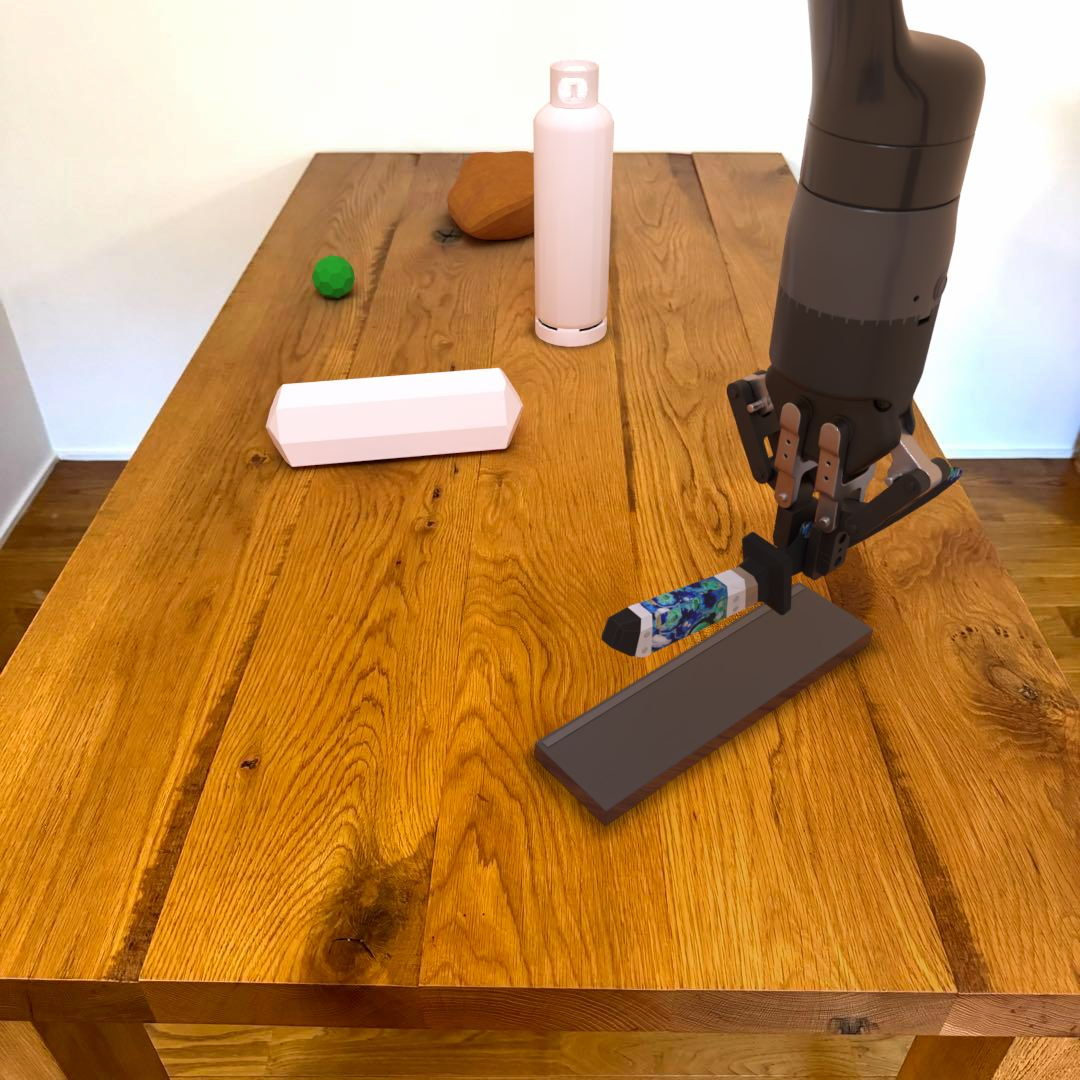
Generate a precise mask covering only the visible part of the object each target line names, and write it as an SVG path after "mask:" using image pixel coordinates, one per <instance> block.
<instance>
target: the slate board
mask: <svg viewBox="0 0 1080 1080" xmlns="http://www.w3.org/2000/svg"><path fill="white" fill-rule="evenodd" d="M873 633H874V628H873V627H871V626H869V624H867V623H865V622H863V621H862V620H860V619H859V618H857V617H855V616H854V615H852V614H851V613H849V612H847V611H846V610H845V609H843V608H842V607H840V606H838V605H836V604H835V603H834V602H832V601H831V600H829V599H828V598H826V597H824V596H823V595H821V594H819V593H818V592H817V591H815V590H813V589H811V588H810V587H809V586H807V585H805V584H803V583H802V582H800V581H797V582H796V583H794V584H792V593H791V609H790V610H789V611H788V612H787V613H786V614H785V615H780V614H778V613H777V612H776V611H774V610H773V609H771V608H770V607H769V606H767V605H766V604H765V603H763V602H762V604H760V605H758V606H757V607H755V608H754V609H752V610H750V611H748V612H746V613H745V614H743V615H741V616H740V617H738V618H737V619H735V620H734V621H732V622H730V623H729V624H727V625H726V626H724V627H722V628H720V629H719V630H717V631H715V632H713V634H710V635H709V636H708V637H705V638H704V639H702V640H701V641H699V642H698V643H696V644H694V645H692V646H691V647H689V648H688V649H686V650H684V651H683V652H681V653H679V654H678V655H676V656H675V657H673V658H671V659H669V660H668V661H666V662H665V663H662V665H660V666H658V667H656V668H654V669H653V670H652V671H650V672H648V673H646V674H645V675H643V676H641V677H640V678H639V679H637V680H635V681H634V682H631V683H630V684H629V685H627V686H625V687H624V688H622V689H620V690H619V691H617V692H616V693H614V694H612V695H611V696H609V697H607V698H605V699H604V700H602V701H601V702H599V703H598V704H596V705H594V706H592V707H591V708H589V709H588V710H586V711H584V712H582V713H581V714H579V715H577V716H576V717H574V718H573V719H571V720H569V721H568V722H566V723H565V724H563V725H561V726H560V727H558V728H556V729H555V730H553V731H552V732H550V733H548V734H547V735H545V736H543V737H541V738H540V739H539V740H536V741H535V742H534V758H535V759H536V761H538V763H540V764H541V766H543V767H544V768H545V769H546V770H547V771H548V772H549V773H550V775H552V776H553V777H554V778H555V779H556V781H558V782H559V783H560V784H561V785H562V786H563V787H564V788H565V789H566V790H567V791H568V792H569V793H571V794H572V796H574V797H575V798H576V800H577V801H579V802H580V803H581V804H582V805H583V807H585V808H586V809H587V811H589V812H590V813H591V814H592V815H593V816H594V817H595V818H596V819H597V820H598V821H599V822H600V823H601V824H602V825H603V826H605V827H606V826H608V825H609V824H611V823H612V822H614V821H615V820H616V819H618V818H619V817H621V816H623V815H624V814H625V813H626V812H628V811H630V810H632V808H634V807H636V806H637V805H638V804H640V803H641V802H643V801H644V800H646V799H647V798H648V797H650V796H651V795H653V794H654V793H656V792H657V791H659V790H660V789H661V788H663V787H665V786H666V785H667V784H669V783H670V782H672V781H673V780H675V779H676V778H677V777H679V776H680V775H682V774H683V773H685V772H686V771H688V770H689V769H691V768H692V767H693V766H694V765H696V764H697V763H699V762H701V761H702V760H704V758H706V757H708V756H710V754H713V752H715V751H717V750H718V749H719V748H721V747H722V746H724V745H725V744H727V743H728V742H730V741H731V740H733V739H734V738H735V737H737V736H738V735H740V734H742V732H745V730H748V728H750V727H751V726H753V725H754V724H756V723H757V722H759V721H760V720H762V719H763V718H765V717H766V716H768V715H769V714H770V713H772V712H773V711H775V710H776V709H778V708H779V707H780V706H782V705H784V704H785V703H786V702H788V701H789V700H790V699H792V698H793V697H795V696H796V695H798V694H799V693H801V692H802V691H804V690H805V689H806V688H808V687H810V686H811V685H812V684H814V683H815V682H817V681H818V680H819V679H821V678H823V677H824V676H826V674H828V673H830V672H831V671H832V670H834V669H835V668H837V667H838V666H841V664H843V663H844V662H846V661H847V660H848V659H850V658H851V657H853V656H854V655H856V654H858V653H859V652H860V651H861V650H863V649H865V648H867V646H869V645H870V644H871V641H872V638H873V637H872V636H873Z"/></svg>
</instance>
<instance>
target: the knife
mask: <svg viewBox="0 0 1080 1080" xmlns="http://www.w3.org/2000/svg"><path fill="white" fill-rule="evenodd" d="M950 469H951V473H950V476H949V477H948V478H947V479H946V480H944V481H943V482H942V483H940V484H939V485H938V486H936V487H935V488H933V489H932V490H931V491H929V492H928V493H926V494H925V495H924V496H922V497H921V498H920V499H918V500H917V501H915V502H914V503H913V504H911V505H910V506H909V507H907V508H906V509H904V510H903V511H902V512H900V513H899V514H898V515H896V516H895V517H893V518H892V519H891V520H889V521H888V522H886V523H884V524H883V525H879V526H878V527H876V528H874V529H873V530H872V531H870V532H869V533H867V534H866V535H864V536H863V537H861V538H859V539H853V538H851V537H850V540H849V544H848V547H847V548H848V549H850V548H852V547H854V546H856V545H858V544H860V543H861V542H864V541H866V540H867V539H869V538H871V537H873V536H875V535H876V534H878V533H880V532H882V531H883V530H885V529H887V528H888V527H890V526H892V525H893V524H896V523H898V521H900V520H902V519H904V518H905V517H907V516H908V515H910V514H912V513H913V512H915V511H917V510H918V509H920V508H921V507H923V506H924V505H926V504H928V503H930V502H931V501H932V500H934V499H935V498H937V497H938V496H940V495H941V494H942V493H943V492H944V491H946V490H947V489H949V488H950V487H951V486H952V485H954V484H955V483H956V482H957V481H958V480H959V479H960V478H961V477H962V475H963V473H964V470H963V469H962V468H960V467H955V466H950ZM814 523H816V521H815V522H804V523H803V525H802V526H801V529H800V533H799V535H798V537H797V538H796V540H795V541H794V542H793V543H792V544H791V545H790V546H789V547H788V548H786V549H785V550H783V551H781V550H780V549H778V548H777V547H776V546H775V545H774V544H772V543H771V542H769V541H768V540H766V539H765V538H763V537H762V536H761V535H759V534H758V533H756V532H755V531H751V532H749V533H748V534H746V535H745V536H743V537H742V538H741V546H742V547H741V548H742V561H741V562H740V563H739V564H738V565H737V566H736V567H733V568H730V569H728V570H725V571H722V572H720V573H718V574H715V575H711V576H709V577H706V578H704V579H701V580H698V581H696V582H693V583H690V584H687V585H685V586H684V585H683V586H681V587H679V588H677V589H673V590H671V591H667V592H665V593H662V594H660V595H656V596H654V597H652V598H649V599H645V600H643V601H640V602H637V603H634V604H631V605H629V606H627V607H625V608H623V609H621V610H619V611H618V612H615V613H614V614H612V615H610V616H608V617H607V620H606V621H605V622H606V623H605V625H604V628H603V631H602V633H601V641H602V642H603V643H604V644H606V645H607V647H609V649H613V650H615V651H617V652H619V653H622V654H624V655H626V656H629V657H632V658H638V659H642V658H646V657H647V656H650V655H653V654H654V653H657V652H658V651H661V650H662V649H664V648H667V647H669V646H671V645H673V644H674V643H677V642H678V641H681V640H683V639H685V638H687V637H690V636H693V634H696V633H698V632H700V631H702V630H704V629H706V628H708V627H710V626H712V625H714V624H716V623H719V622H720V621H723V620H725V619H727V618H729V617H732V616H733V615H736V614H738V613H739V612H741V611H744V610H746V609H747V608H750V607H752V606H754V605H756V604H758V603H761V602H762V604H763V603H765V604H766V605H767V606H769V607H770V608H771V609H773V610H774V611H776V612H777V613H778V614H780V615H785V614H786V613H787V612H788V611H789V610H790V609H791V593H792V586H793V577H794V576H796V575H799V574H801V573H803V567H804V562H805V556H806V551H807V546H808V541H809V535H810V530H811V525H812V524H814Z"/></svg>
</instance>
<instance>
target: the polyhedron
mask: <svg viewBox="0 0 1080 1080" xmlns="http://www.w3.org/2000/svg"><path fill="white" fill-rule="evenodd" d="M311 279H312V283H313V286H314V288H315V290H316V291H317V292H318V293H319V294H321V295H322V296H323V297H326V298H329V299H336V300H337V299H340V298H342V297H344V296H345V295H347V294H348V293H350V292H351V291H352V288H353V286H354V283H355V280H356V275H355V271H354V268H353V266H352V264H351V263H350V262H349V261H348V260H347V259H346V258H344V257H342V256H339V255H331V254H329V255H327V256H324V257H323V258H321V259H319V260H318V261H317V262H316V263H315V266H314V268H313V271H312V274H311Z"/></svg>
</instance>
